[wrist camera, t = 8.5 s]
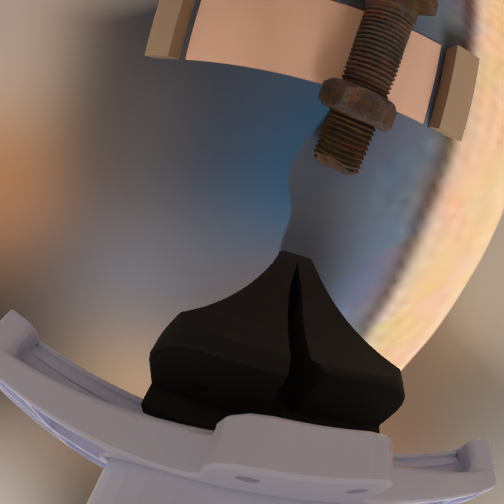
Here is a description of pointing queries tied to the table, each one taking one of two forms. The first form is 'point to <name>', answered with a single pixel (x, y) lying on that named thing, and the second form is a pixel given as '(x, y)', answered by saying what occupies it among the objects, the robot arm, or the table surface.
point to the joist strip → (314, 50)
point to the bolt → (367, 82)
